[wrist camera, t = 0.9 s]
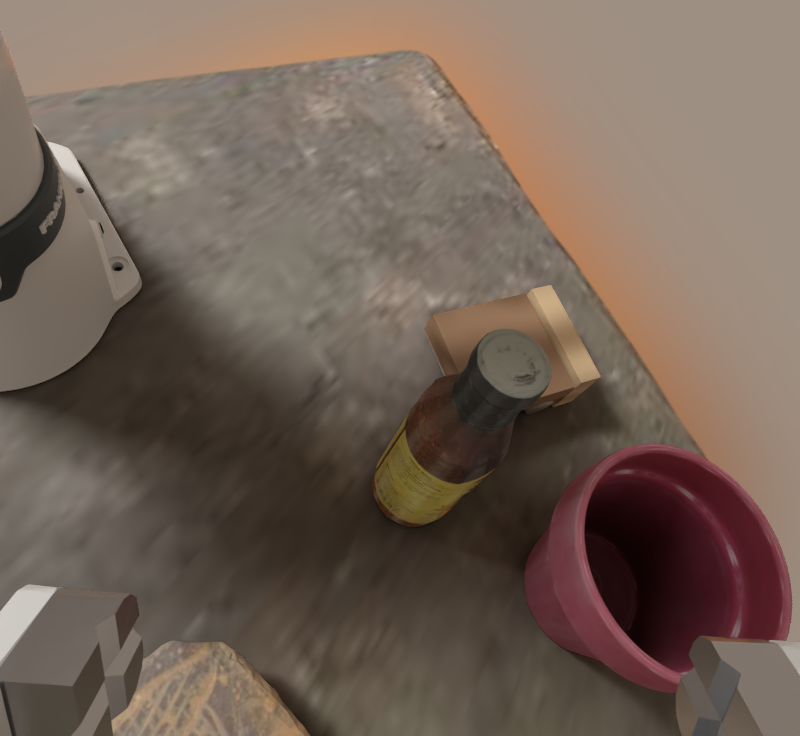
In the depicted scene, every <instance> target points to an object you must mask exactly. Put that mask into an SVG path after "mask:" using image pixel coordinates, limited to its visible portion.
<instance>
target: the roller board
mask: <svg viewBox="0 0 800 736" xmlns="http://www.w3.org/2000/svg"><path fill="white" fill-rule="evenodd" d="M498 329H514V330H518V331H521V332H523V333H525V334H527V335H529V336H530V337H531V338H533V339H534V340H535V341H536V342H537V343H538V344H539V345H540V346H541V347H542V348H543V349H544V351H545V353H546V354H547V356H548V358H549V360H550V363H551V368H552V376H551V379H550V383H549V385H548V387H547V389H546V390H545V392H544V393H543V394H542V396H540V398H539V399H538V400H537V401H536V402H535V403H534V404H533V405H530V406H528V407H527V408H525V409H523V410H525V412H526V414H527V415H530V414H534V413H536V412H539V411H541V410H543V409H545V408H547V407H548V406H550V405H551V406H552V408H553V407H556V406H559V405H562V404H566V403H569V402H571V401H573V400H574V399H575V398H576V397H577V396H579V395H580V394H581V393H582V392H583V391H585V390H586V389H587V388H588V387H590V386H591V385H592V384H593V383H594V382H596V381H597V380H598V379H599V378H600V377H601V376H600V374H599V372H598V370H597V369H596V367H595V365H594V363H593V361H592V359H591V358H590V356H589V354H588V352H587V350H586V348H585V347H584V345H583V343H582V341H581V339H580V337H579V335H578V334H577V332H576V330H575V328H574V326H573V324H572V323H571V321H570V319H569V317H568V315H567V313H566V312H565V310H564V308H563V306H562V304H561V302H560V301H559V299H558V297H557V295H556V293H555V291H554V289H553V288H552V286H551V285H548V286H544V287H539V288H535V289H531V291H530V292H529V293H528V295H526V294H522V295H518V296H513V297H509V298H504V299H500V300H495V301H491V302H486V303H482V304H478V305H473V306H469V307H464V308H460V309H455V310H451V311H446V312H442V313H437V314H433V315H432V316H431V318H430V320H429V321H428V323H427V325H426V327H425V331H426V337H427V339H428V342H429V344H430V346H431V348H432V351H433V353H434V355H435V357H436V360H437V362H438V364H439V366H440V369H441V371H442V373H443V375H444V376H447V375H450V374H460V373H461V372H462V371H464V369H465V368H466V366H467V364H468V361H469V358H470V354H471V352H472V351H473V349H474V348H475V347H476V345H477V344H478V343H479V342H480V340H481V339H482V338H483V337H484V336H485V335H486V334H487V333H490V332H492V331H494V330H498Z"/></svg>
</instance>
